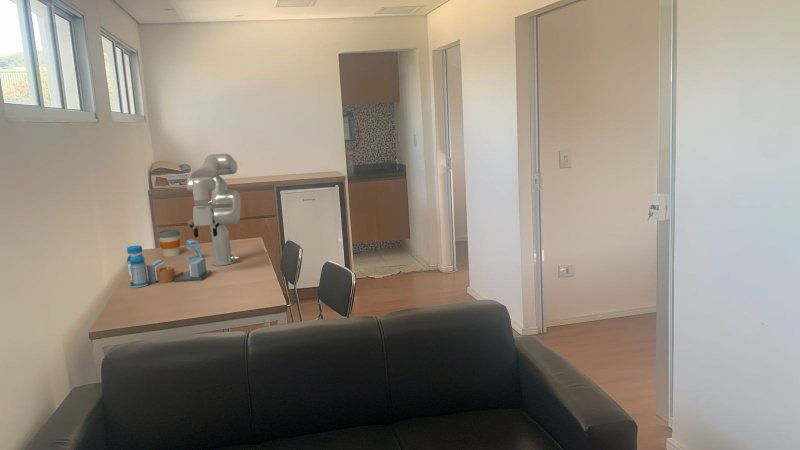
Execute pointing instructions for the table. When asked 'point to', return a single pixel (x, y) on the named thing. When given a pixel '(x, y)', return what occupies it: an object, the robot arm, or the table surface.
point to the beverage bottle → (136, 267)
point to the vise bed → (187, 277)
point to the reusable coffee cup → (169, 242)
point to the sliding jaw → (197, 267)
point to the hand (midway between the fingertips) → (206, 236)
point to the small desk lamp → (196, 248)
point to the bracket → (167, 274)
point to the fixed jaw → (154, 270)
